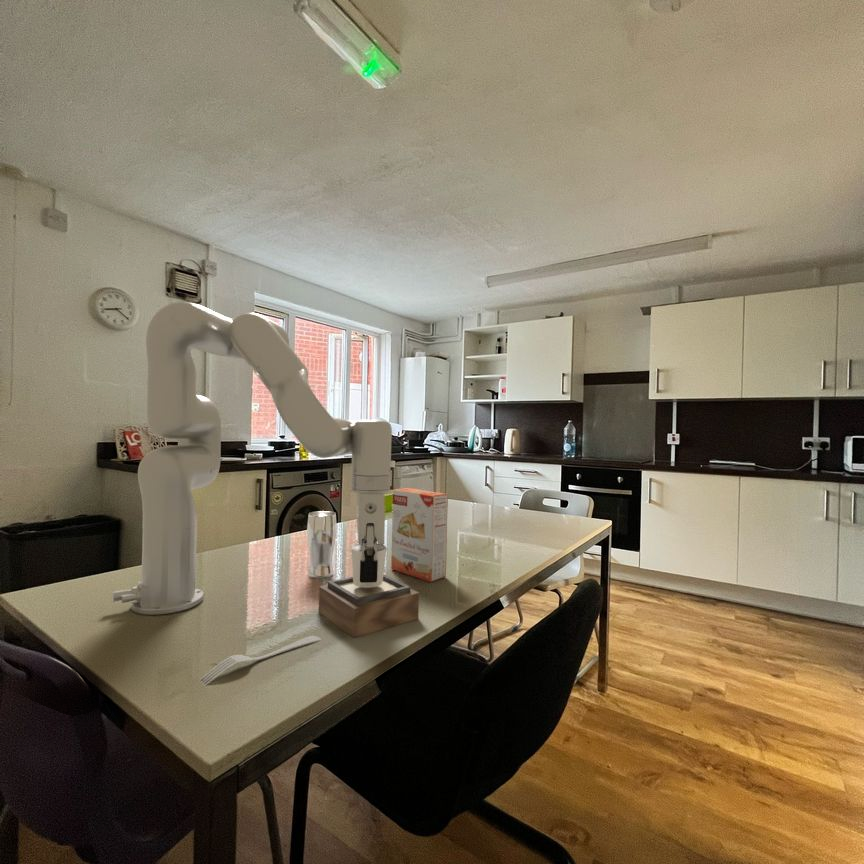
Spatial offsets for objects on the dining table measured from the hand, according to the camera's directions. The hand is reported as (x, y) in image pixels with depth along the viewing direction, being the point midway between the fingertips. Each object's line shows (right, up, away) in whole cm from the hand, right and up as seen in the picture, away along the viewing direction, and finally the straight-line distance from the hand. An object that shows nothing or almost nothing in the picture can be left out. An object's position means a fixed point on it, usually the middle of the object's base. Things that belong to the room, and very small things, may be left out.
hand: (368, 574), depth 91 cm
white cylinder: (0, -2, 0) cm, 2 cm away
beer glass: (-15, -7, +24) cm, 29 cm away
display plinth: (0, -8, 0) cm, 8 cm away
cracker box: (+9, -8, +26) cm, 29 cm away
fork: (-14, -8, -17) cm, 24 cm away
